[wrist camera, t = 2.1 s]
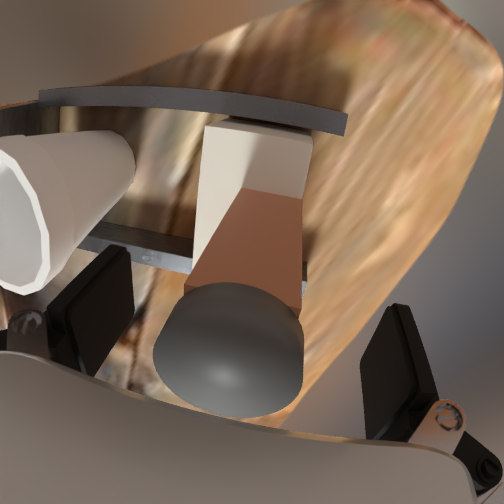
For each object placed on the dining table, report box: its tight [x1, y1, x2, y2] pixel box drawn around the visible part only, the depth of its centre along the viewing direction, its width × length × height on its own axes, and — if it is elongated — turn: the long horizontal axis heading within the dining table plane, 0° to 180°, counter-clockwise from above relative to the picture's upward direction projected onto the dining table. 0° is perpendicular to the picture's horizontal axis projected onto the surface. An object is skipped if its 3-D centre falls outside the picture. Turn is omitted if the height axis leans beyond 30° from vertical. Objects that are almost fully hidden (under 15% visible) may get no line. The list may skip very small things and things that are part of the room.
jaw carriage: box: [153, 118, 314, 418], centre depth 17 cm, size 10×6×18 cm, turn 171°
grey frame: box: [0, 86, 348, 298], centre depth 21 cm, size 14×28×8 cm, turn 81°
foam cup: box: [0, 130, 136, 295], centre depth 19 cm, size 10×9×13 cm
